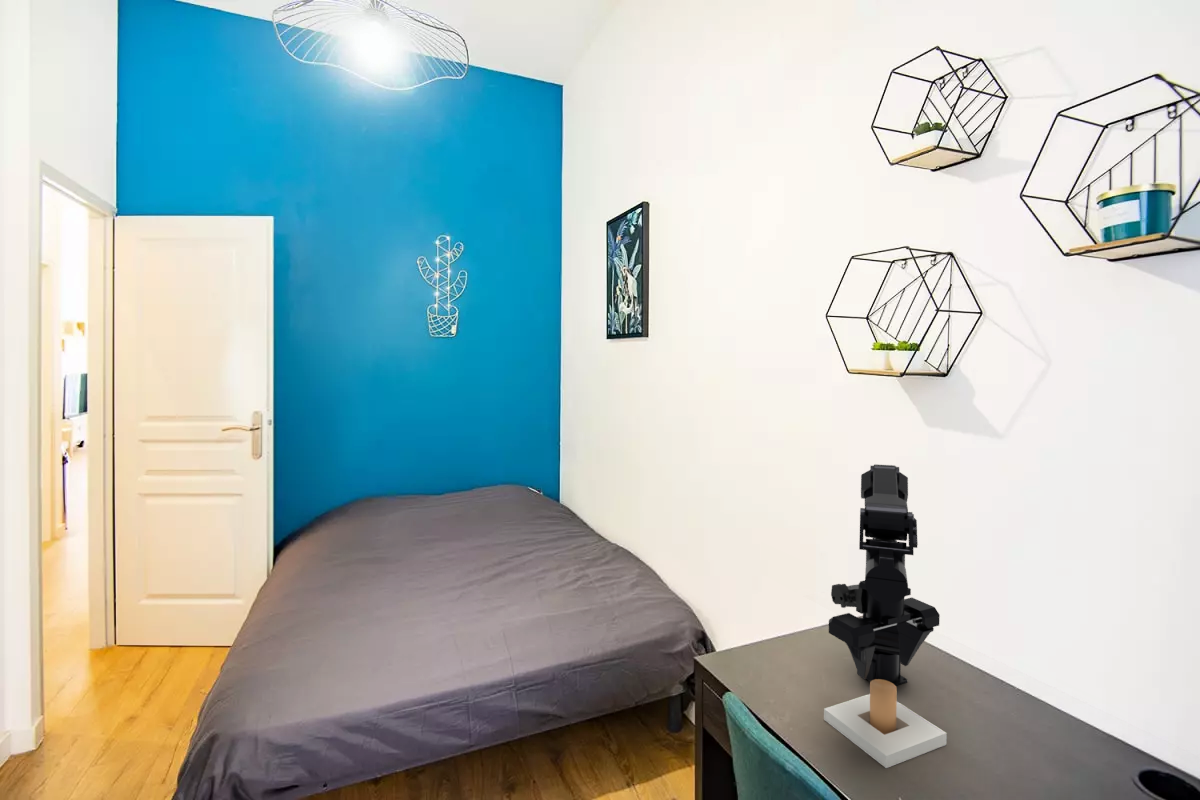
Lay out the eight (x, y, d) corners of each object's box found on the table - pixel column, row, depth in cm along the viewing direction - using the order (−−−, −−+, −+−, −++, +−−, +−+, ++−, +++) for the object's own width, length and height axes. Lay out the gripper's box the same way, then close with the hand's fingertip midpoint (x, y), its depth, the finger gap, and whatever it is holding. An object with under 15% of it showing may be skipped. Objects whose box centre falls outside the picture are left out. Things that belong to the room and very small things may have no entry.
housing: (880, 701, 106) (880, 690, 106) (946, 744, 94) (946, 732, 94) (823, 719, 101) (823, 708, 101) (886, 768, 89) (886, 755, 89)
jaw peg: (881, 721, 100) (882, 676, 100) (901, 735, 97) (902, 689, 96) (864, 728, 99) (864, 682, 98) (883, 742, 95) (884, 695, 94)
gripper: (886, 555, 106) (885, 638, 108) (804, 571, 99) (804, 660, 101) (942, 576, 96) (940, 667, 97) (856, 596, 89) (855, 694, 90)
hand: (883, 671), depth 97 cm, fingers open, 9 cm apart
